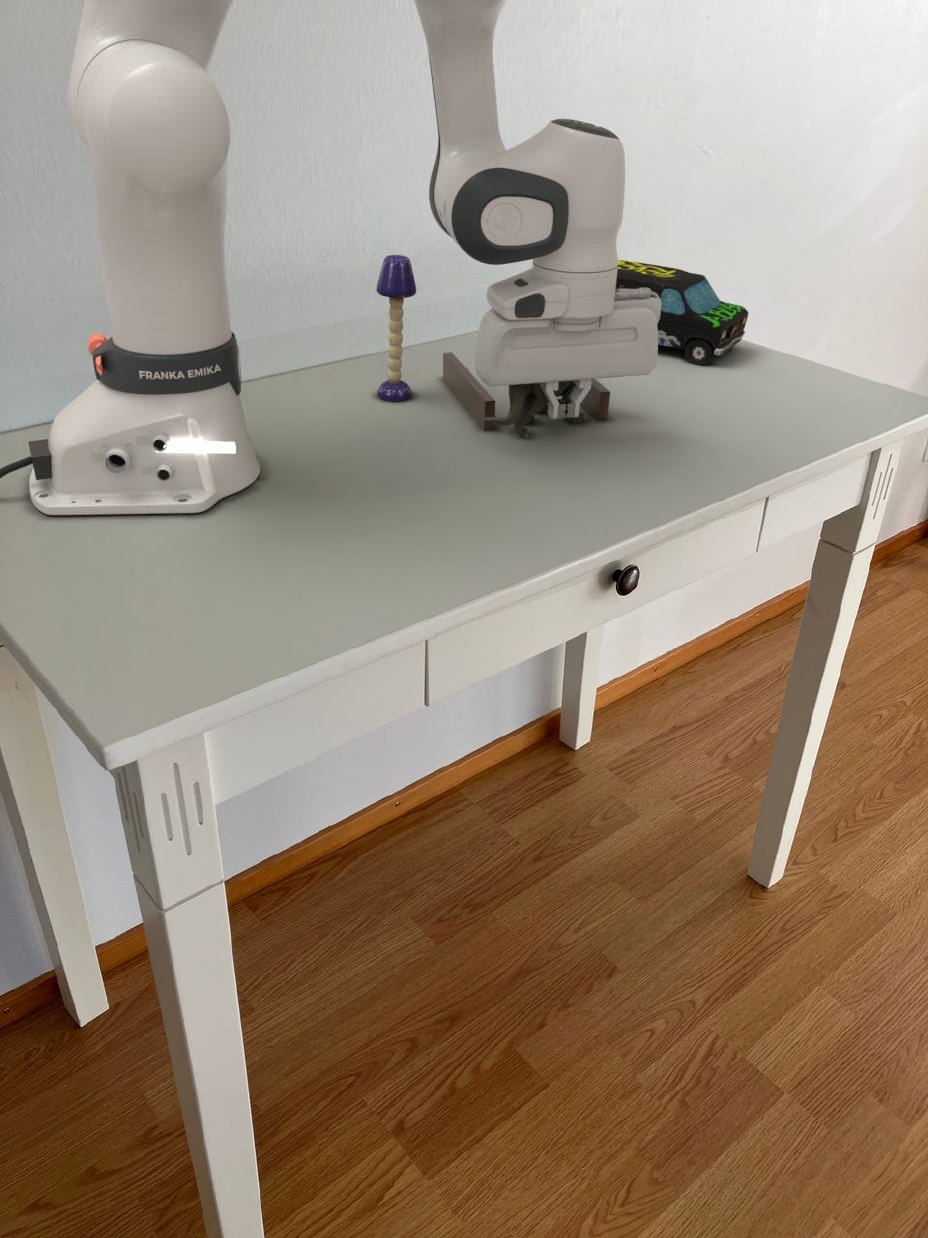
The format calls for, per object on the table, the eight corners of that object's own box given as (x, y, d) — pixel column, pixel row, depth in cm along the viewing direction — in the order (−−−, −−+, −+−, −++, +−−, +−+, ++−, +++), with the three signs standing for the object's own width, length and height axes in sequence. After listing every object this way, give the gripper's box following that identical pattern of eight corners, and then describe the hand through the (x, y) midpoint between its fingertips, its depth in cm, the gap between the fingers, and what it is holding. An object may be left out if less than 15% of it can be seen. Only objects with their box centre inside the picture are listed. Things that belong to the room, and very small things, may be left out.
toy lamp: (419, 391, 128) (420, 253, 119) (411, 404, 124) (411, 262, 115) (382, 388, 129) (380, 250, 120) (372, 401, 125) (370, 259, 116)
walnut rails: (484, 430, 118) (485, 401, 116) (442, 379, 132) (443, 352, 130) (607, 419, 122) (610, 391, 120) (554, 371, 136) (556, 345, 134)
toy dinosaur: (490, 456, 111) (494, 354, 106) (444, 431, 117) (445, 334, 111) (632, 416, 123) (644, 322, 117) (584, 395, 129) (593, 305, 123)
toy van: (718, 369, 139) (730, 294, 133) (558, 335, 150) (563, 265, 145) (746, 350, 146) (758, 278, 141) (591, 319, 158) (597, 252, 152)
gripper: (650, 279, 113) (636, 399, 120) (472, 288, 108) (469, 413, 115) (676, 294, 107) (659, 419, 115) (490, 304, 102) (485, 434, 110)
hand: (562, 416), depth 115 cm, fingers closed
